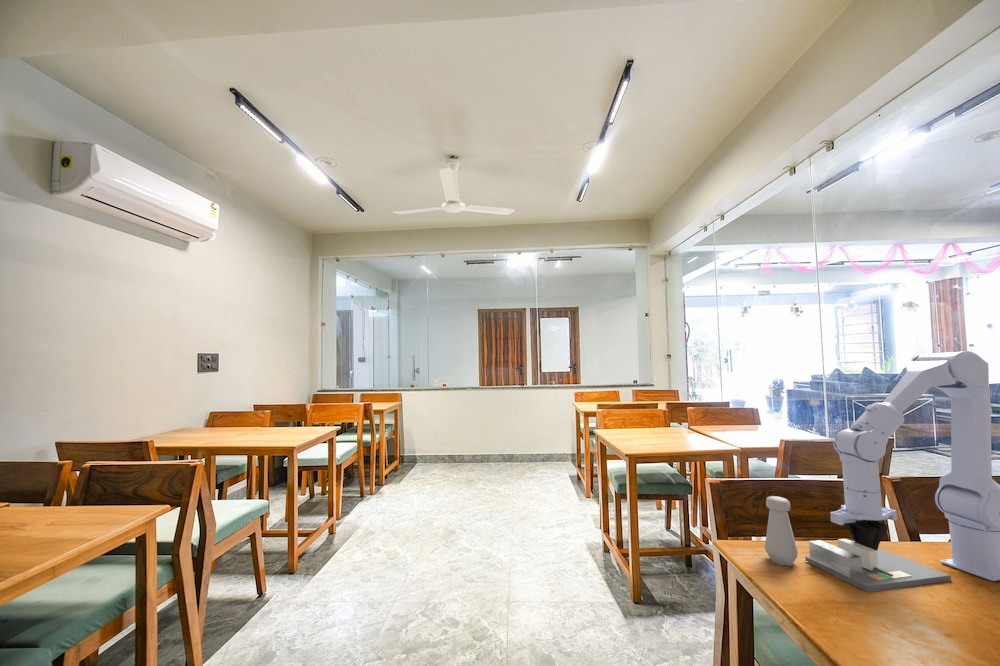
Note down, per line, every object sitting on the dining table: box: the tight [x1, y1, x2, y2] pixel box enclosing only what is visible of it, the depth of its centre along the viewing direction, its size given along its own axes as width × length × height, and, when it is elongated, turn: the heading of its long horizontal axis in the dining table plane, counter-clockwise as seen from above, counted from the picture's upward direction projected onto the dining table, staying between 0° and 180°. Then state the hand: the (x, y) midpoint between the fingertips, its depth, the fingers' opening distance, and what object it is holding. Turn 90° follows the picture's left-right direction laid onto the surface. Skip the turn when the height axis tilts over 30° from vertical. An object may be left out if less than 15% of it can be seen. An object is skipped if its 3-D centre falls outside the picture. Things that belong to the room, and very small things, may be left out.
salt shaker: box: [764, 495, 798, 567], centre depth 86 cm, size 6×6×13 cm
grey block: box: [808, 539, 863, 578], centre depth 81 cm, size 3×8×4 cm, turn 12°
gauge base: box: [805, 548, 952, 593], centre depth 81 cm, size 20×12×1 cm, turn 102°
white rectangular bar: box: [837, 538, 893, 577], centre depth 81 cm, size 2×9×4 cm, turn 12°
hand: (867, 558), depth 82 cm, fingers closed
